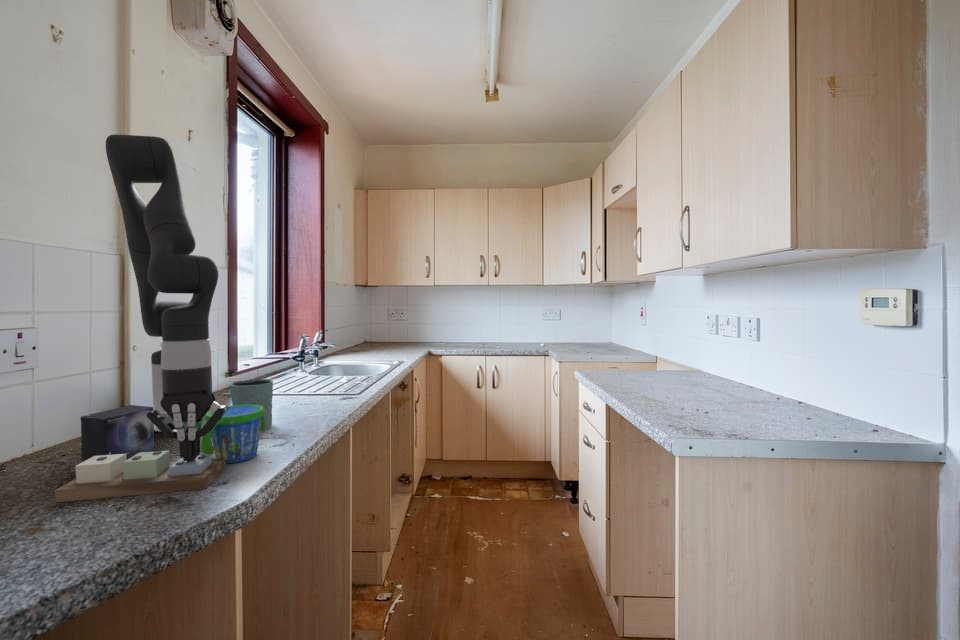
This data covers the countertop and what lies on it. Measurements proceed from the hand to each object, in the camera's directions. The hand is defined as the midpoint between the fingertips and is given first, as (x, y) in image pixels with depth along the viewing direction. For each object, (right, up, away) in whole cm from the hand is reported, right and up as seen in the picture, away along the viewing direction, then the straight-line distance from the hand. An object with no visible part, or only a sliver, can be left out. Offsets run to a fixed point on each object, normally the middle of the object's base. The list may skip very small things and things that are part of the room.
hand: (190, 459), depth 80 cm
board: (-7, -4, -1) cm, 8 cm away
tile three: (0, -4, 0) cm, 4 cm away
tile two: (-7, -3, -1) cm, 7 cm away
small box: (-22, -4, +11) cm, 25 cm away
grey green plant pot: (-7, -3, +35) cm, 35 cm away
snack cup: (+2, -4, +12) cm, 12 cm away
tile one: (-14, -3, -3) cm, 14 cm away
